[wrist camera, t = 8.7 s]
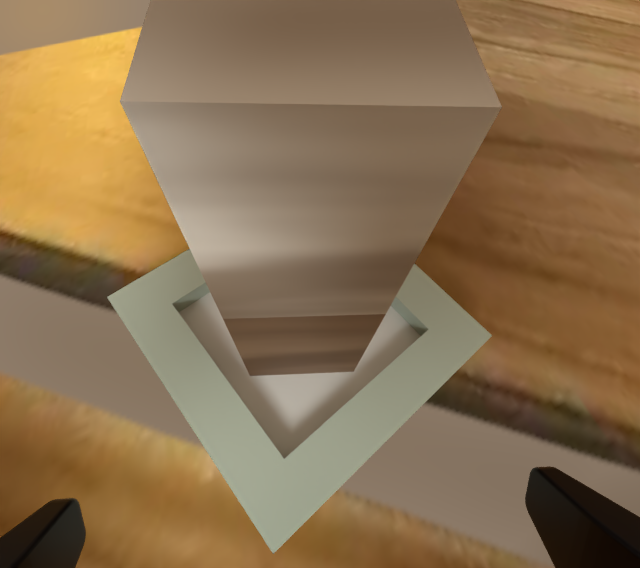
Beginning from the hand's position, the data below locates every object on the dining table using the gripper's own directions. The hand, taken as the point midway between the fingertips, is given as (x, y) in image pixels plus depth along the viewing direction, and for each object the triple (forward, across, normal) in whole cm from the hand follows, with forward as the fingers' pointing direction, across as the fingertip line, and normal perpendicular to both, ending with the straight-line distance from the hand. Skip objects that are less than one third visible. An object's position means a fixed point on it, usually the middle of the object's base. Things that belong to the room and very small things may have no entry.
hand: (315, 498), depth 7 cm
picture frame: (+11, 0, +1) cm, 11 cm away
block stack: (+10, 0, 0) cm, 10 cm away
